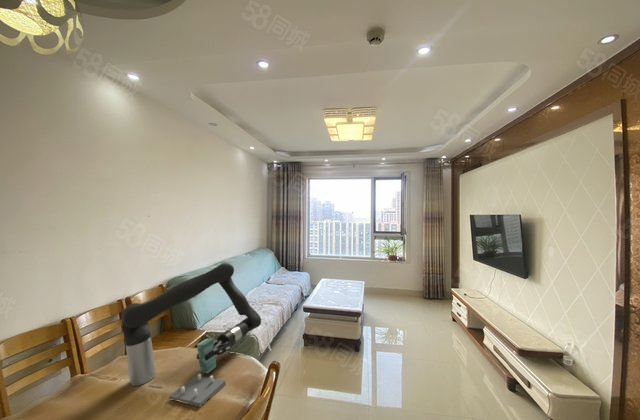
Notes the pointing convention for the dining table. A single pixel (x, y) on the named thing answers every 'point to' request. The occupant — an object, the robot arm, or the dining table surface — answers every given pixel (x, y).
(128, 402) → the dining table surface
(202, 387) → the peg plate
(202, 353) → the teal post
